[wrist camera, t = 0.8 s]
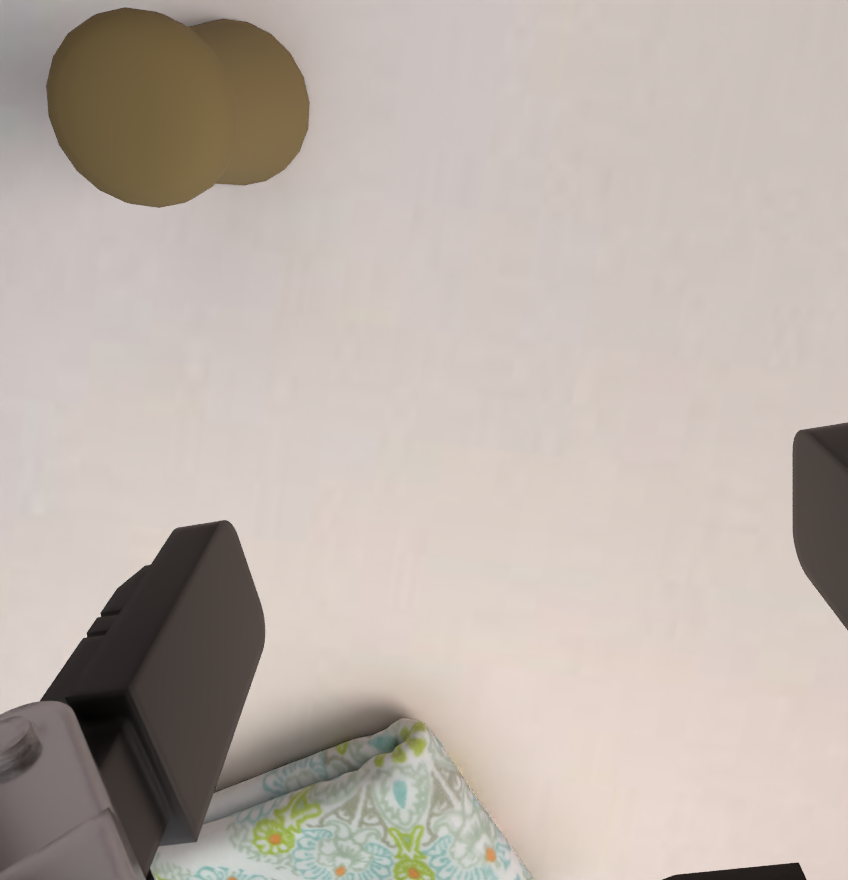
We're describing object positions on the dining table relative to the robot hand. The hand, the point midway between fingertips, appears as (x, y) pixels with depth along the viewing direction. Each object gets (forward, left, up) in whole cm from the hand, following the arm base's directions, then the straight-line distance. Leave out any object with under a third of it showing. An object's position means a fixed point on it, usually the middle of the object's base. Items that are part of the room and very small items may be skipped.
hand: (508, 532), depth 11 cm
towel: (+34, +20, -23) cm, 46 cm away
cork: (+3, -11, -23) cm, 26 cm away
